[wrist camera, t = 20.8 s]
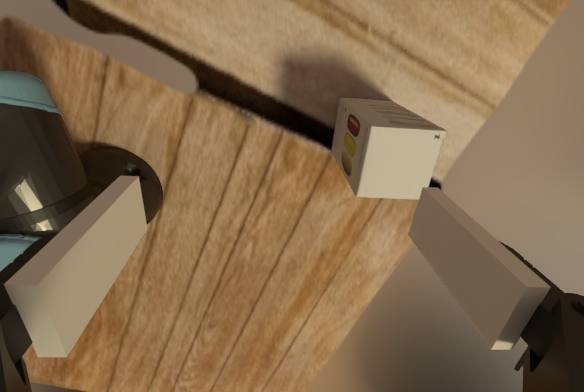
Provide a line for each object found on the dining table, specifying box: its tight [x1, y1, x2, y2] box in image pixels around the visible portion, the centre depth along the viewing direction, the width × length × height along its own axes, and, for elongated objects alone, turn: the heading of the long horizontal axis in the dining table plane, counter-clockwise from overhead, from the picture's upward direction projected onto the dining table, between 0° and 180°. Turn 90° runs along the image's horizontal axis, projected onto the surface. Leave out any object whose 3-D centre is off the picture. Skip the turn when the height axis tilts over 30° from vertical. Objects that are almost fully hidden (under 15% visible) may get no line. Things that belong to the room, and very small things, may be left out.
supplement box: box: [331, 97, 447, 199], centre depth 43 cm, size 10×9×17 cm
